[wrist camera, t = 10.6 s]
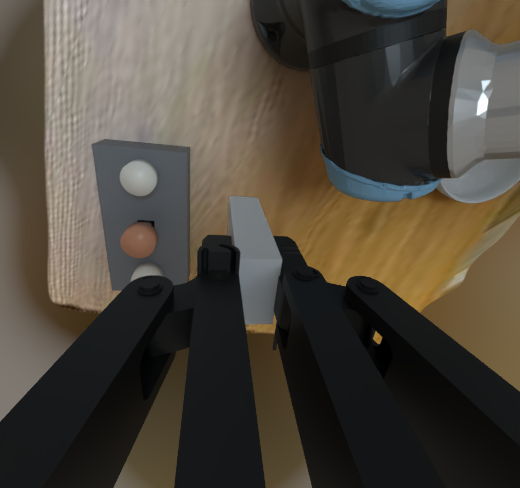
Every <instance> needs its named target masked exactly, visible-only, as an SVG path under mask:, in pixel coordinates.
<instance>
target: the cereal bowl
mask: <svg viewBox="0 0 520 488" xmlns="http://www.w3.org/2000/svg"><path fill="white" fill-rule="evenodd" d="M519 180H520V158H515V159H493V160H484V161H482V162H480V163H477V164H476V165H475V166H474V167H472V168H471V169H470V170H468V171H467V172H466V173H465V174H463V175H462V176H461V177H459V178H442V180H441V181H440V183H439V184H438V186H437V187H436V189H437V190H439V191H440V192H441V193H442V194H444V195H446V196H447V197H449V198H451V199H454V200H456V201H459V202H464V203H481V202H485V201H488V200H491V199H494V198H496V197H498V196H500V195H502V194H503V193H505V192H506V191H508V190H509V189H510V188H512V187H513V186H514V185H515V184H516V183H517V182H518V181H519Z"/></svg>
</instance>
